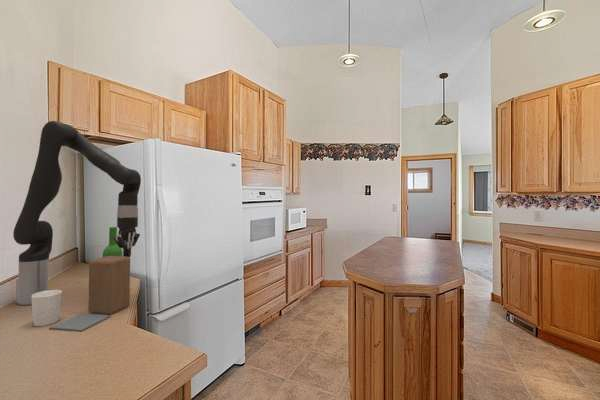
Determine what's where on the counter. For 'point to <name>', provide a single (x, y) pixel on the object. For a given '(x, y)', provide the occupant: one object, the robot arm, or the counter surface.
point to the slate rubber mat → (80, 322)
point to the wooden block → (109, 284)
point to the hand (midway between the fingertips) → (127, 257)
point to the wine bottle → (112, 244)
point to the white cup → (46, 307)
